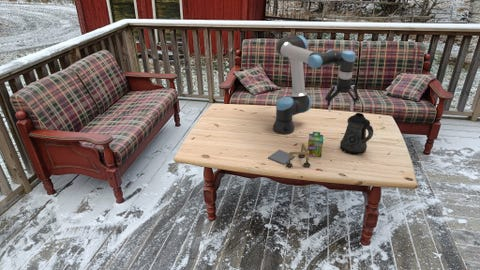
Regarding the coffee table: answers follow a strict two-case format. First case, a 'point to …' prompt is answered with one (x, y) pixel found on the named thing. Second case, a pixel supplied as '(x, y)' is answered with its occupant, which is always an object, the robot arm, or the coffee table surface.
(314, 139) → the chalk box
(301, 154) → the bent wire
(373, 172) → the coffee table surface
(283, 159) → the slate pad
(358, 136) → the beer stein
